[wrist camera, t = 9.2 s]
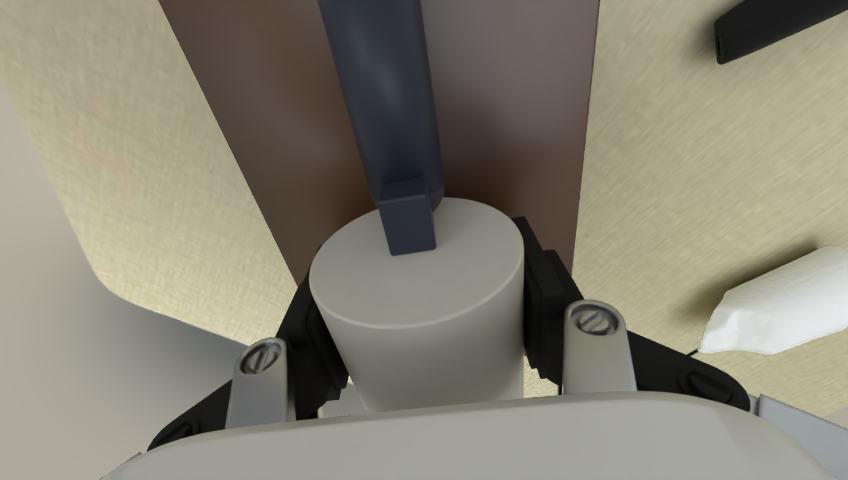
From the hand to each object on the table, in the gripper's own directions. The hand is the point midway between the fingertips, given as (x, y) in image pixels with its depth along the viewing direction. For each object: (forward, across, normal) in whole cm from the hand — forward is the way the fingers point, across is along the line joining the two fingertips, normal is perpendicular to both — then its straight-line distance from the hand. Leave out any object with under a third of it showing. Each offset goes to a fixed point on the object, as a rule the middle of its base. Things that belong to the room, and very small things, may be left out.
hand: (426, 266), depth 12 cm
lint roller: (+1, 0, -2) cm, 2 cm away
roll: (+13, -26, +17) cm, 34 cm away
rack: (+13, 0, -1) cm, 13 cm away
